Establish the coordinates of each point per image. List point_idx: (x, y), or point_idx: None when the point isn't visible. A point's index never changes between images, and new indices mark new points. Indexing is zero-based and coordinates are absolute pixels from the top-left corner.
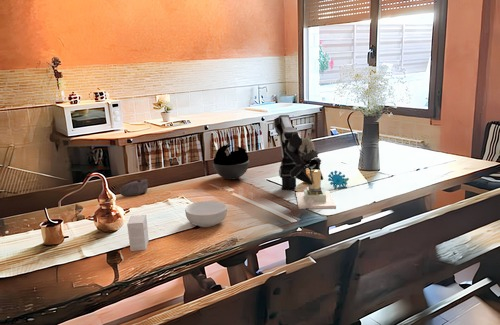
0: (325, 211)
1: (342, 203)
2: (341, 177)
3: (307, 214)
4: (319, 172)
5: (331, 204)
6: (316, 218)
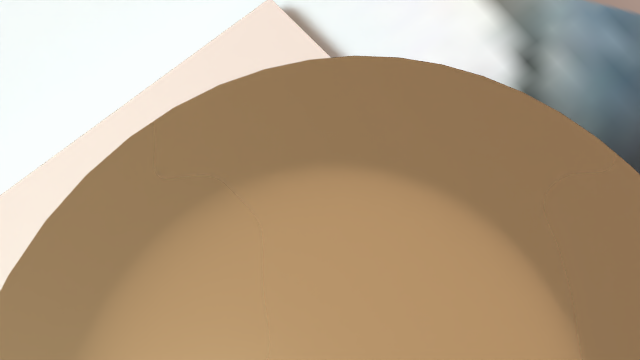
0: (430, 52)
1: (69, 21)
2: None
3: (614, 149)
4: (395, 85)
5: (274, 57)
6: (608, 30)
